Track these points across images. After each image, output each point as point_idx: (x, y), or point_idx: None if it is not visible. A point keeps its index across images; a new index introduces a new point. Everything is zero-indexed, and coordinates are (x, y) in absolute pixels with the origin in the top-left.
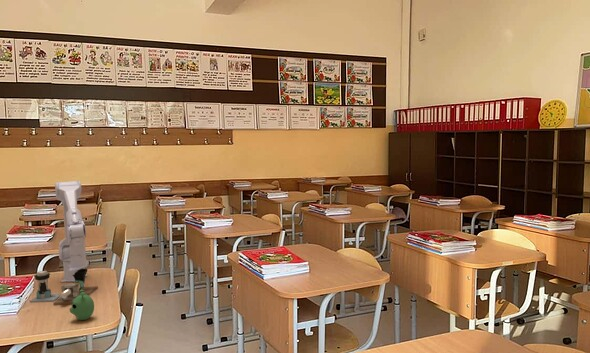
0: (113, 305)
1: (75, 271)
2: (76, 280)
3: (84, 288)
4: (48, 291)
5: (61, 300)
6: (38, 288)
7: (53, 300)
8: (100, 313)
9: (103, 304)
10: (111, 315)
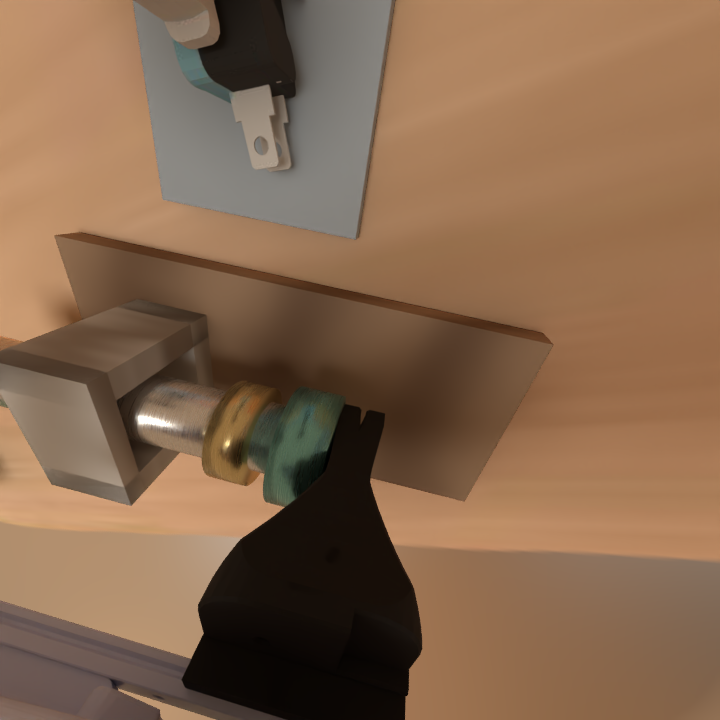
0: (139, 528)
1: (72, 670)
2: (272, 483)
3: (439, 426)
4: (217, 48)
5: (120, 297)
6: None
7: (167, 195)
8: (41, 491)
9: (146, 501)
10: (37, 517)
